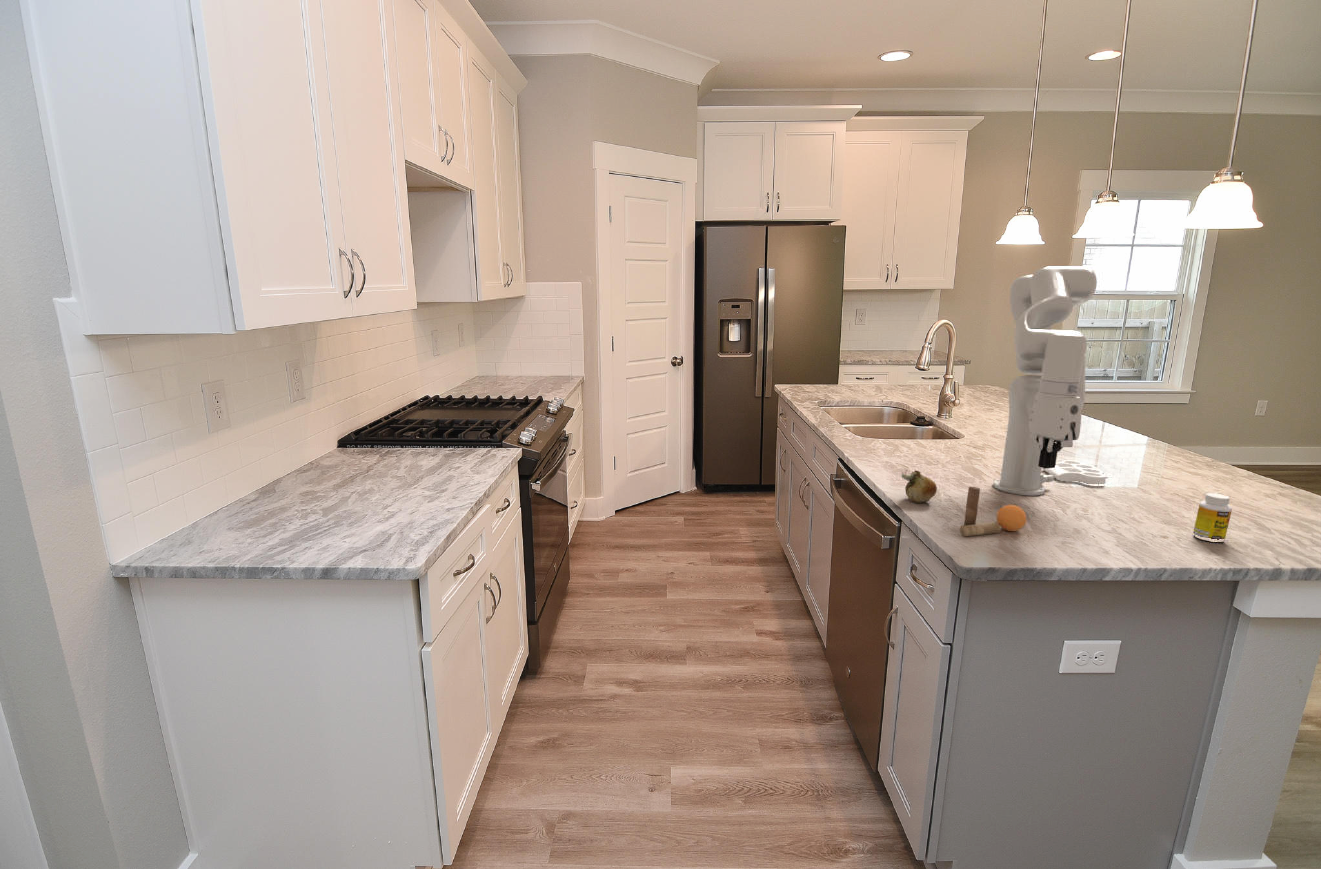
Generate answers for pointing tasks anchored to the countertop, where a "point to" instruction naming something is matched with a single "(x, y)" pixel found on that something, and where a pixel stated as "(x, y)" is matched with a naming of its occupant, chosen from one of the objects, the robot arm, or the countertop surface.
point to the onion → (919, 487)
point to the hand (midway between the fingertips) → (1046, 467)
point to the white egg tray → (1076, 472)
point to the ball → (1011, 518)
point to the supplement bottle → (1213, 517)
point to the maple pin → (980, 529)
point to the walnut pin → (972, 506)
